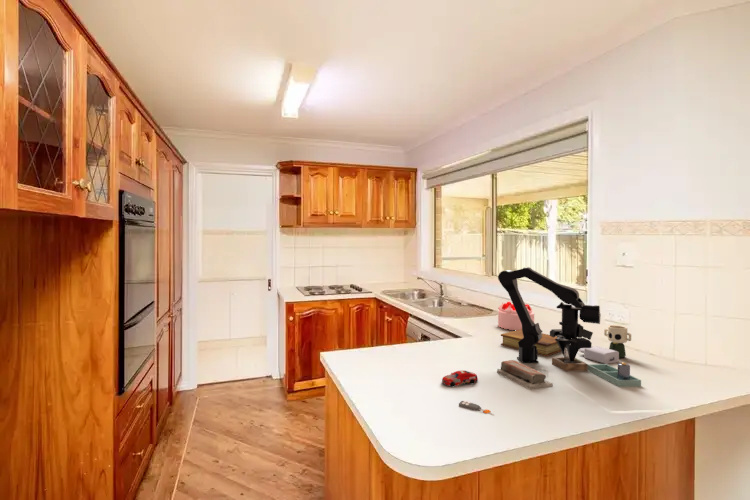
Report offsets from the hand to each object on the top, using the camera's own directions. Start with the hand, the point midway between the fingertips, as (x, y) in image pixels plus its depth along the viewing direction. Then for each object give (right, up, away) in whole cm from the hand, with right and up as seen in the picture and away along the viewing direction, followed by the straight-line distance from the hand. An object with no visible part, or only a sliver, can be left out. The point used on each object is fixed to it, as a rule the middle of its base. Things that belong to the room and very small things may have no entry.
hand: (569, 359), depth 147 cm
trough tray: (+10, -4, -11) cm, 15 cm away
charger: (+18, -4, +13) cm, 23 cm away
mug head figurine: (+29, -3, +15) cm, 33 cm away
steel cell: (0, -2, 0) cm, 2 cm away
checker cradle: (0, -3, 0) cm, 3 cm away
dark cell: (+10, -3, -17) cm, 20 cm away
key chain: (-45, -5, -37) cm, 59 cm away
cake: (+6, -2, +71) cm, 71 cm away
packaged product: (-23, -4, -12) cm, 26 cm away
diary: (-1, -3, +30) cm, 30 cm away
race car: (-47, -4, -16) cm, 50 cm away
